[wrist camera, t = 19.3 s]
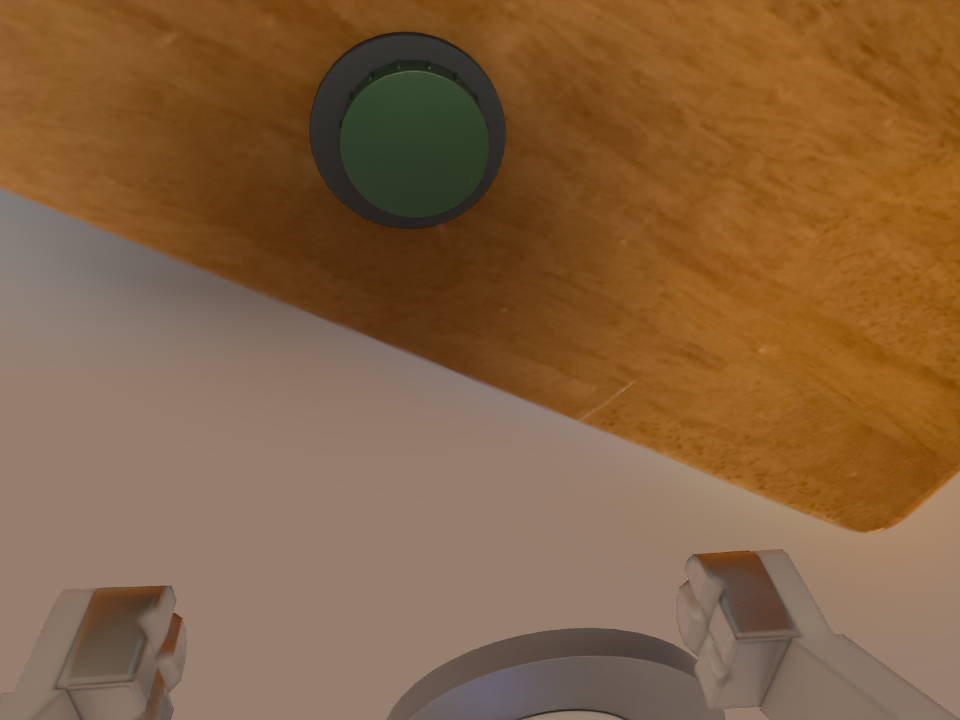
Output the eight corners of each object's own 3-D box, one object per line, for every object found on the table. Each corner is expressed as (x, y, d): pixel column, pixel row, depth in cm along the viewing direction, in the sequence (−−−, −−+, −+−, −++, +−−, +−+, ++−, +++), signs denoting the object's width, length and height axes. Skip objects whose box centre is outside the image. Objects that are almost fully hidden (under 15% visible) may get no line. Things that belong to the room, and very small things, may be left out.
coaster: (442, 253, 34) (443, 258, 33) (279, 169, 31) (277, 174, 30) (540, 99, 30) (543, 104, 30) (366, -12, 27) (366, -9, 27)
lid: (488, 60, 29) (493, 71, 27) (482, 202, 32) (487, 218, 31) (335, 57, 28) (333, 68, 27) (346, 202, 31) (344, 218, 30)
